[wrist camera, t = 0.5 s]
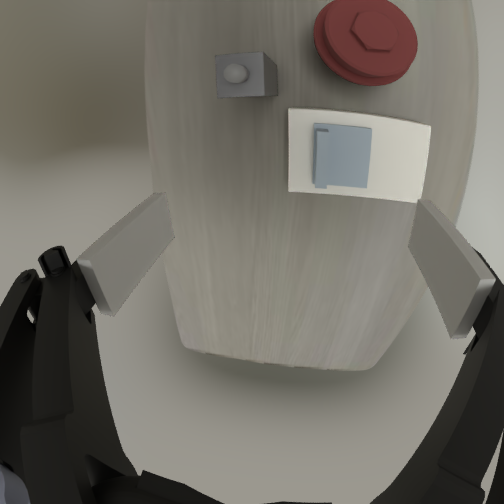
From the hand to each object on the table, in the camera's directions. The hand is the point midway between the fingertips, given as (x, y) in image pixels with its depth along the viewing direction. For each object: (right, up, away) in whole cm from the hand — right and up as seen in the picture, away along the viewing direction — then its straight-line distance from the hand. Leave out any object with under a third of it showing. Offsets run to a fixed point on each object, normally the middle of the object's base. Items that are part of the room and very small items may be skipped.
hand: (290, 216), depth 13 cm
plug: (-1, +19, +16) cm, 25 cm away
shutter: (+8, +9, +15) cm, 19 cm away
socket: (+11, +11, +18) cm, 24 cm away
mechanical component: (+10, +23, +11) cm, 27 cm away
